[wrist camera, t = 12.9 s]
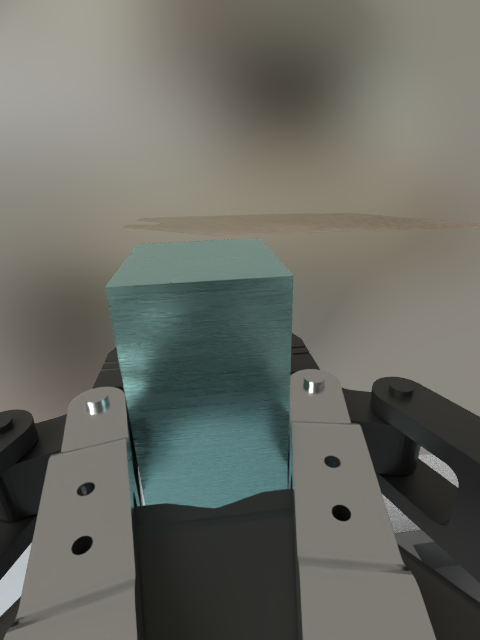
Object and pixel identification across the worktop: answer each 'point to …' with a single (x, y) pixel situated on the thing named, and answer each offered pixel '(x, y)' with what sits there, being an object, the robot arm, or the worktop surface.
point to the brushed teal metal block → (205, 368)
